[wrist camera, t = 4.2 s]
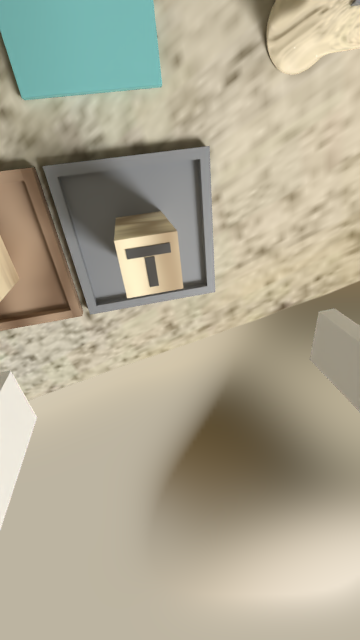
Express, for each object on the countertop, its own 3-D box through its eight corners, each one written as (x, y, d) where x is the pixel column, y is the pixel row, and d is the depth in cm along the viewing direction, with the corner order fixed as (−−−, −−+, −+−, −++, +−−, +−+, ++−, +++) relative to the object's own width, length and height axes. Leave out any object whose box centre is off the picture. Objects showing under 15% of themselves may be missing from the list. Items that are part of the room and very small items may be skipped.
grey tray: (91, 309, 34) (90, 314, 33) (45, 166, 26) (42, 166, 25) (212, 288, 36) (215, 291, 35) (206, 146, 28) (209, 146, 27)
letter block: (125, 261, 32) (127, 298, 24) (115, 217, 29) (114, 241, 21) (166, 255, 33) (183, 288, 24) (161, 211, 30) (177, 231, 21)
